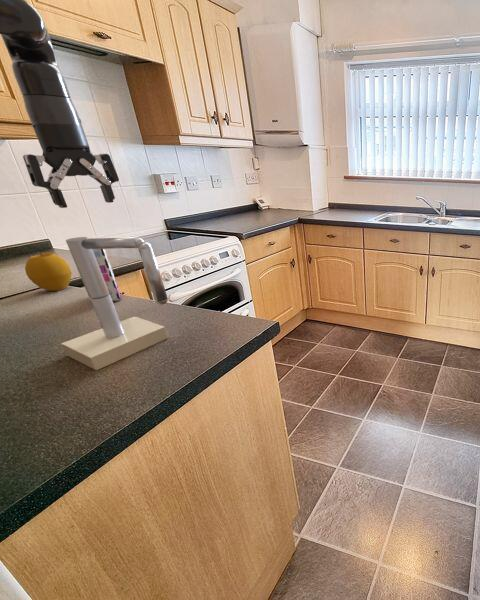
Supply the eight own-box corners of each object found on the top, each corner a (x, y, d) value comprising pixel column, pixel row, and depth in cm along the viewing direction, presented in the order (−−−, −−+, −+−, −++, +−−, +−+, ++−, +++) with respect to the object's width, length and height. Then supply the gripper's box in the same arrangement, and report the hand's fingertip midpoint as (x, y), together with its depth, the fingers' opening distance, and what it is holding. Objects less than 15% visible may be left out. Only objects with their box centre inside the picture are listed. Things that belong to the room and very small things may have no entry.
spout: (89, 309, 68) (60, 240, 63) (101, 302, 71) (75, 237, 66) (164, 307, 69) (142, 239, 63) (172, 300, 72) (152, 235, 66)
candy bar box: (122, 300, 97) (101, 244, 90) (100, 305, 94) (77, 248, 87) (120, 289, 105) (101, 237, 98) (99, 293, 102) (78, 240, 95)
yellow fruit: (48, 285, 108) (31, 250, 104) (84, 282, 111) (69, 247, 106) (27, 296, 100) (8, 258, 95) (67, 292, 103) (51, 255, 98)
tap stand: (96, 370, 66) (71, 315, 61) (66, 355, 71) (41, 303, 66) (168, 338, 77) (152, 289, 72) (138, 327, 82) (122, 281, 77)
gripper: (90, 125, 76) (115, 200, 82) (0, 121, 64) (37, 208, 71) (107, 124, 73) (132, 201, 79) (16, 119, 61) (53, 210, 68)
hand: (87, 204), depth 75 cm, fingers open, 8 cm apart
